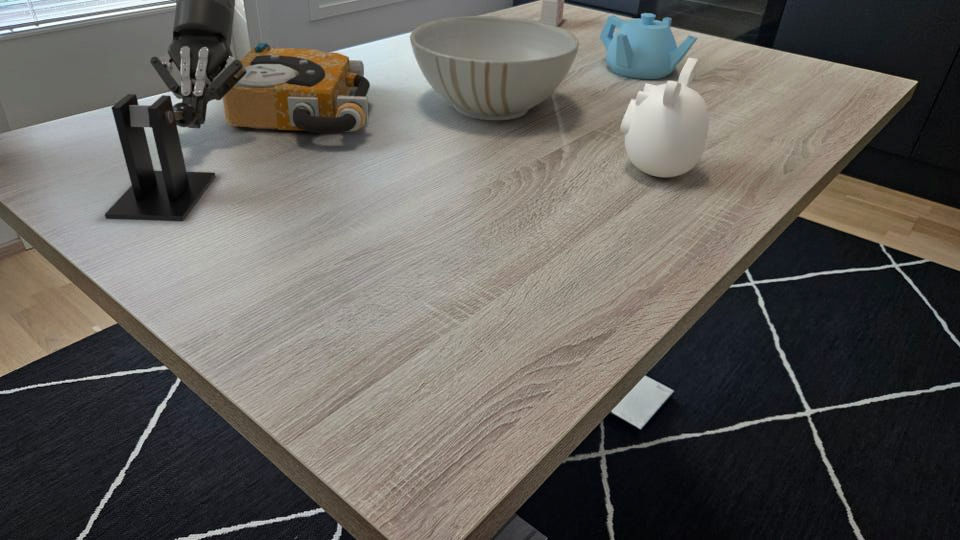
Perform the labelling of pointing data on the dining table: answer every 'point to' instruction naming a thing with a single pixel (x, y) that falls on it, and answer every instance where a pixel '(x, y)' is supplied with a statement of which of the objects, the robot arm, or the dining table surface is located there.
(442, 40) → the decorative bowl
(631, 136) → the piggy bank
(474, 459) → the dining table surface
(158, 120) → the bracket
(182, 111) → the lever
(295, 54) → the device
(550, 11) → the white rectangular block
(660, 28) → the teapot
